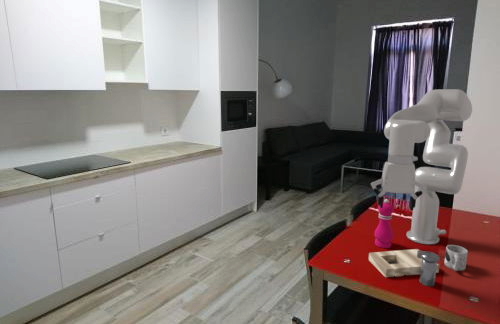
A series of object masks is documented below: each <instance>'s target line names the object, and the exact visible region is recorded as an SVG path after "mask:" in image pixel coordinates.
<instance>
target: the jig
mask: <svg viewBox="0 0 500 324" xmlns="http://www.w3.org/2000/svg"><path fill="white" fill-rule="evenodd" d="M424 251H425V250H424ZM424 251H423V250H420V249H419V248H414V249H413V248H412V249H402V250H401V249H399V250H389V251H388V250H387V251H377V252H376V251H374V252H369V253H368V261H369V262H370V263H371V264H372V265H373V266H374V267H375V268H376V269H377V270H378V272H380V273H381V274H382V276H383V277H385V278H394V276H395V277H403V276H404V275H406V276H415V275H420V272H421V263H422V258H421V252H424ZM439 271H440V264H439V263H438V262H437V267H436V274H437V273H440V272H439ZM404 277H405V276H404Z"/></svg>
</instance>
